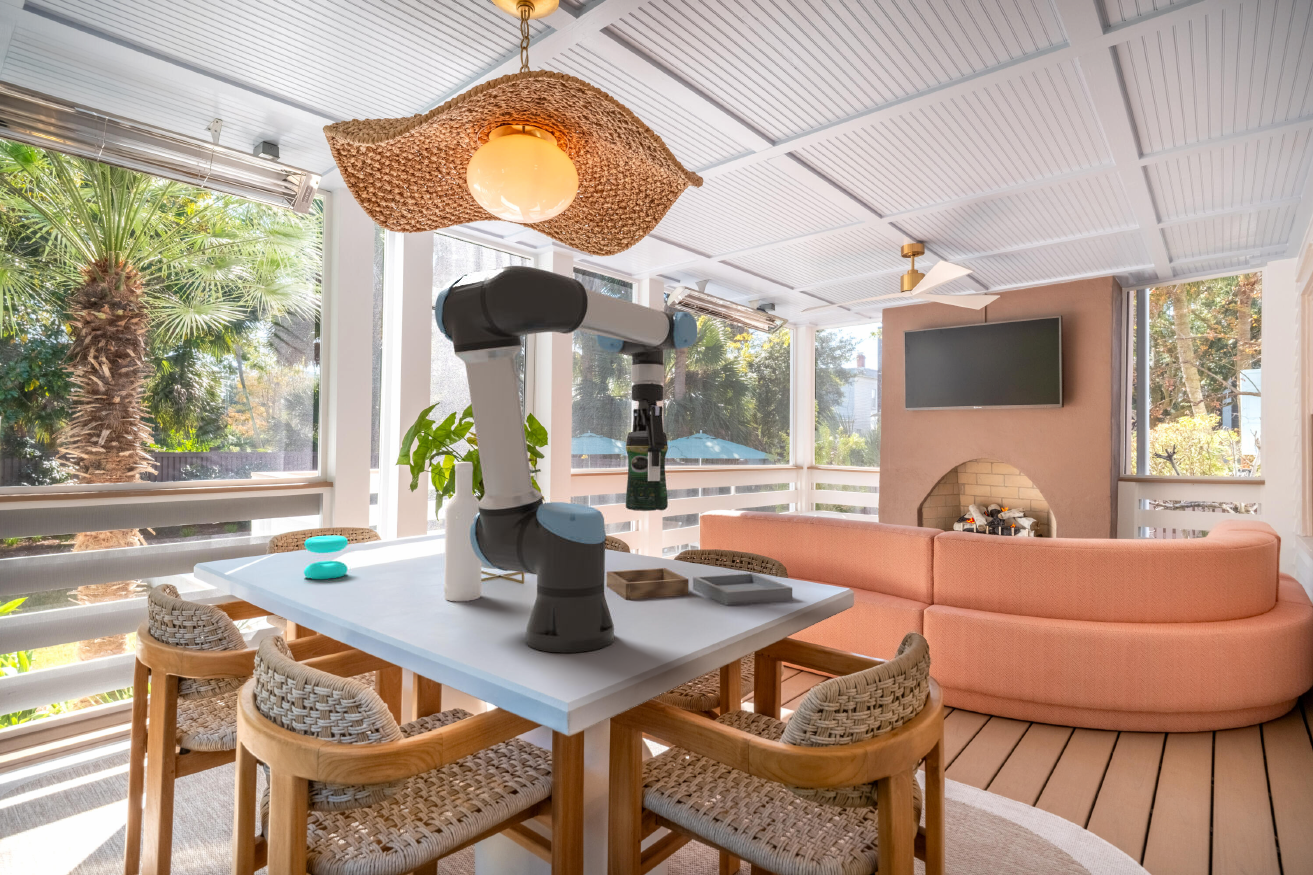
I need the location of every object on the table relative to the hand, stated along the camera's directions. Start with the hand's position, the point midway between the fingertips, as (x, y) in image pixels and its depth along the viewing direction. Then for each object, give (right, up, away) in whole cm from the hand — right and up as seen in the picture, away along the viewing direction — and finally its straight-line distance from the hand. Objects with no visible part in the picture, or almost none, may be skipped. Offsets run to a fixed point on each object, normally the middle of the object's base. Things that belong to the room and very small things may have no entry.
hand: (646, 479), depth 158 cm
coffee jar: (0, -7, 0) cm, 7 cm away
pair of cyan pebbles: (-82, -26, +14) cm, 87 cm away
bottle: (-41, -26, -9) cm, 49 cm away
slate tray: (+22, -26, -4) cm, 34 cm away
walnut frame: (0, -26, 0) cm, 26 cm away
